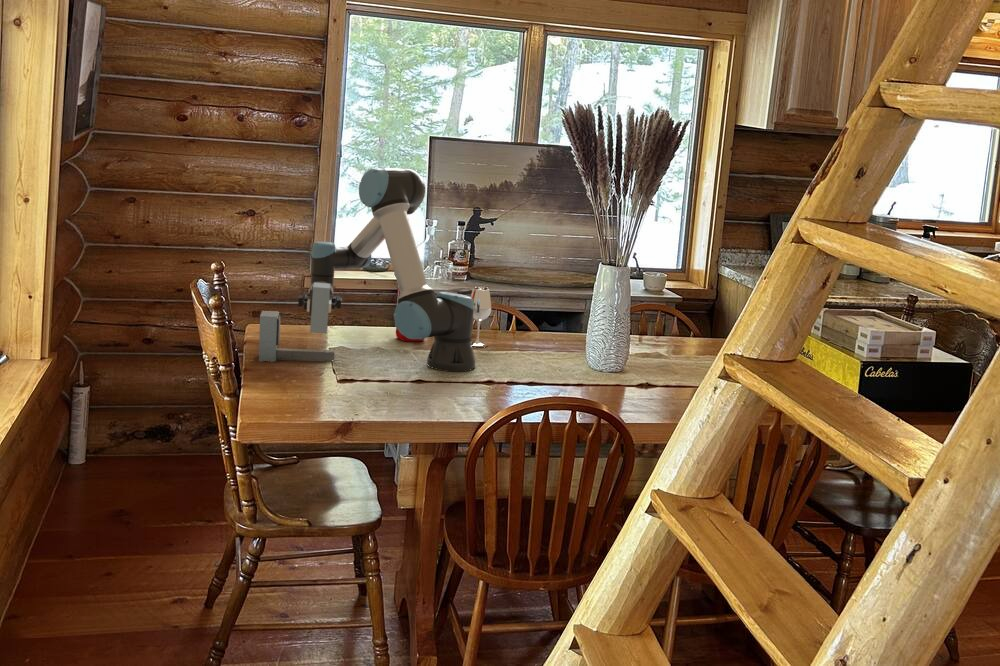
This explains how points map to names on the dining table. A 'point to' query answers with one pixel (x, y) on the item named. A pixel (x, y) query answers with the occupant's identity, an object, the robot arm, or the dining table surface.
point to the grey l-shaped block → (271, 352)
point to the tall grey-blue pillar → (319, 307)
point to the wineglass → (480, 308)
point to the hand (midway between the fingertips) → (319, 307)
